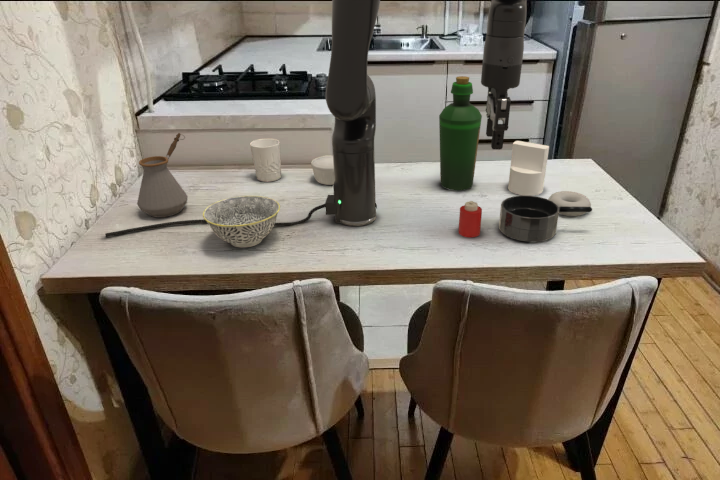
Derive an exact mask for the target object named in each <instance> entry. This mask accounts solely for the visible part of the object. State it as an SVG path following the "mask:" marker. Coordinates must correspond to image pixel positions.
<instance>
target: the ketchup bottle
mask: <svg viewBox="0 0 720 480" xmlns="http://www.w3.org/2000/svg"><path fill="white" fill-rule="evenodd" d="M482 214H483V208H482V207H481V206H479V204H478V202H475V201H473V200H470V201H466V202H465V203H464V205H461V206H460V208H459V217H458V235H460V236H461V237H465V238H477V237H478V236H480V235H481V227H482Z"/></svg>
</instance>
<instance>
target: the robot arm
mask: <svg viewBox="0 0 720 480" xmlns="http://www.w3.org/2000/svg"><path fill="white" fill-rule="evenodd" d="M527 1H528V0H491V2H490V5H489V9H488V15H487V23H486V24H487V25H486V26H487V27H486V35H485V40H484V45H483V53H482V64H481V65H482V66H481V74H480V75H481V77H480V84H481V85H482V86H483V87H485V88H487V96H486V107H485V113H486V115H485V117H486V118H487V120H486V128H485V129H486V131H485V135H486V137H488V138H489V137H491V144H490V147H491V149H492V150H498V151H499V150H502V149H503V147H504V139H505V132H507V131H508V129H509V121H510V112H511V110H510V109H511V104H512V100H511V97H510V96H509V95H508V94H509V93H508V91H509V89H515V88H518V87H519V86H520V83H521V77H522V76H521V74H522V68H523V66H522V65H523V59H524V50H525V31H526V25H527V9H528V7H527ZM331 2H332V3H331V50H330V51H331V53H330V61H329V68H328V75H327V79H326V80H327V81H326V87H325V103H326V105H327V106H326V107H327V109H328V111H329V112H330V113H331V115H332V116H333V117H334V126H333V130H332V131H333V132H332V136H331V145H332V146H331V147H332V155H333V163H334V179H335V181H334V184H333V185H332V187H333V194H327V197H326V199H325V202H324V203H323V204H320V205H317V206H315V207H313V208H311V209H310V211H309V212H308V214H307V216H306V217H304V218H303V219H301V220H297V221H292V222H275V224H274V227H290V226H291V227H292V226H297V225H301V224H304V223H307V222H308V221H309V220H310V219H311V218H312V215H313V214H314V213H315V212H317V211H319V210H322V209H325V216H334V218H335V223H336V224H342V225H344V226H349V227H362V226H367V225H370V224H372V223H373V222H375V220H376V219H377V210H378V205H377V203H376V202H377V201H376V166H375V165H376V163H375V161H376V160H375V158H376V157H375V138H376V137H375V136H376V128H377V95H376V87H375V84H374V82H373V80H372V78H371V77H370V75H369V74H368V60H369V51H370V45H371V41H372V38H373V35H374V30H375V27H376V22H377V18H378V16H379V15H378V14H379V11H380V10H379V9H380V4H381V0H331ZM499 121H502V123H499ZM188 224H208V223H207V222H206V220H205V219H204V218H203V219H186V220H178V221H176V220H175V221H168V222H162V223H155V224H150V225H149V224H148V225H144V226H138V227H132V228H127V229H122V230H117V231H112V232H106V233H105V235H104V236H105V237H106V238H108V237H109V238H110V237H114V236H118V235H119V236H120V235H123V234H128V233H134V232H139V231H145V230H151V229H157V228H158V229H159V228H163V227H170V226H171V227H172V226H178V225H179V226H180V225H188Z"/></svg>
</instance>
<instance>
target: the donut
mask: <svg viewBox="0 0 720 480" xmlns="http://www.w3.org/2000/svg"><path fill="white" fill-rule="evenodd" d="M548 200H550V201H553V202H554V203H556V204H557V205H558V207H560V206H561V207H591V208H592V204H591V201H590V198H588V197H587V196H586V195H584V194H582V193H579V192H576V191H572V190H571V191H569V190H562V191H556V192H554V193H552V194H551V195H550V196H549V197H548ZM587 213H588V212H559V215H561V216H567V217H578V216H579V217H580V216H583V215H585V214H587Z"/></svg>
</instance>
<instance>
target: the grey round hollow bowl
mask: <svg viewBox="0 0 720 480" xmlns="http://www.w3.org/2000/svg"><path fill="white" fill-rule="evenodd" d="M548 199H549V198H548ZM548 199H547V198H546V197H541V196H538V195H534V196H524V195H513V196H509V197H507V198H505V199H503V200H502V201H501V203H500V210H499V220H498V229H499V231H500V232H501V233H502V234H503V235H504V236H506V237H508V238H510V239H513V240H515V241H521V242H526V243H527V242H528V243H535V242H536V243H537V242H544V241H547V240H550V239H552V238H553V237H554V236H555V235H556V232H557V228H558V221H559V215H560V214H559V207H558V205H557V204H556V203H554V202H553V201H550V200H548Z"/></svg>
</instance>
